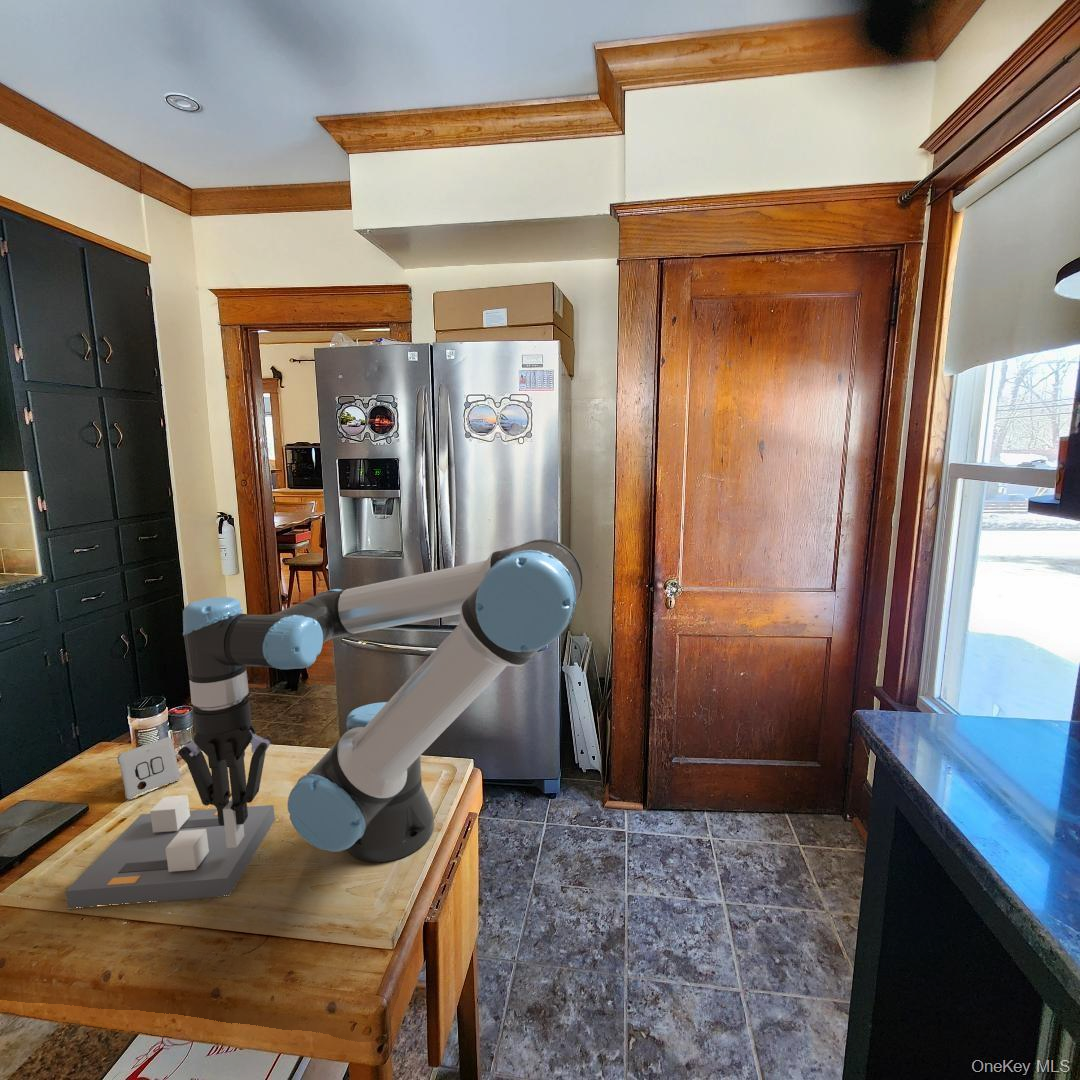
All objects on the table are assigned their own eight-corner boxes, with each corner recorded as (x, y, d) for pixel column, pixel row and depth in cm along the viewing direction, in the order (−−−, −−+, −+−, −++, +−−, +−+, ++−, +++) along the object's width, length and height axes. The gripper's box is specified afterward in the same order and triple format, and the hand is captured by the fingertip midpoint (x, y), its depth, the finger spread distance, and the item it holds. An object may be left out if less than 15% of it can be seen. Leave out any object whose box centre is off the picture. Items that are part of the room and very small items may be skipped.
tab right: (190, 815, 98) (187, 795, 98) (177, 830, 94) (174, 809, 94) (166, 817, 98) (163, 796, 97) (152, 832, 94) (150, 810, 93)
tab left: (208, 851, 89) (206, 828, 89) (195, 869, 85) (192, 846, 85) (182, 853, 89) (180, 830, 88) (168, 871, 85) (165, 848, 84)
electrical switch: (127, 803, 108) (120, 757, 107) (119, 795, 111) (112, 751, 111) (181, 781, 115) (175, 738, 115) (172, 775, 119) (166, 733, 118)
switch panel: (274, 819, 102) (273, 804, 101) (229, 895, 84) (227, 877, 84) (143, 829, 100) (141, 813, 100) (68, 909, 82) (65, 890, 82)
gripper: (275, 687, 88) (287, 823, 91) (189, 691, 87) (204, 828, 90) (255, 709, 81) (269, 855, 84) (161, 713, 80) (179, 861, 83)
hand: (235, 841), depth 87 cm, fingers closed
